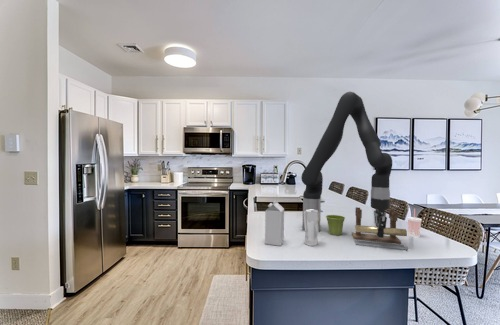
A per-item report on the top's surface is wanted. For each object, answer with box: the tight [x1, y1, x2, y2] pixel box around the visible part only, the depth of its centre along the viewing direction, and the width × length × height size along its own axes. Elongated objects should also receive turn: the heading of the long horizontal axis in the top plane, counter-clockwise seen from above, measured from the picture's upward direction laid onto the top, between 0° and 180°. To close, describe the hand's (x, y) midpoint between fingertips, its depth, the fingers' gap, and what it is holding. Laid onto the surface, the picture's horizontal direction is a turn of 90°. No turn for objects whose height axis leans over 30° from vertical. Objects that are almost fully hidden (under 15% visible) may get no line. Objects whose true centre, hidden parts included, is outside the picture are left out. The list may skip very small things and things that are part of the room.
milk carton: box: [264, 199, 285, 247], centre depth 107 cm, size 7×7×19 cm
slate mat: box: [353, 239, 408, 251], centre depth 106 cm, size 20×6×1 cm, turn 73°
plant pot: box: [325, 214, 346, 236], centre depth 122 cm, size 9×9×9 cm
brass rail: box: [354, 224, 408, 237], centre depth 106 cm, size 20×3×3 cm, turn 73°
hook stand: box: [351, 206, 402, 245], centre depth 114 cm, size 20×7×14 cm, turn 73°
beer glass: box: [304, 209, 321, 247], centre depth 107 cm, size 7×7×15 cm
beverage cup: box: [406, 208, 423, 239], centre depth 120 cm, size 6×6×14 cm
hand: (379, 235), depth 106 cm, fingers closed on brass rail, 3 cm apart
